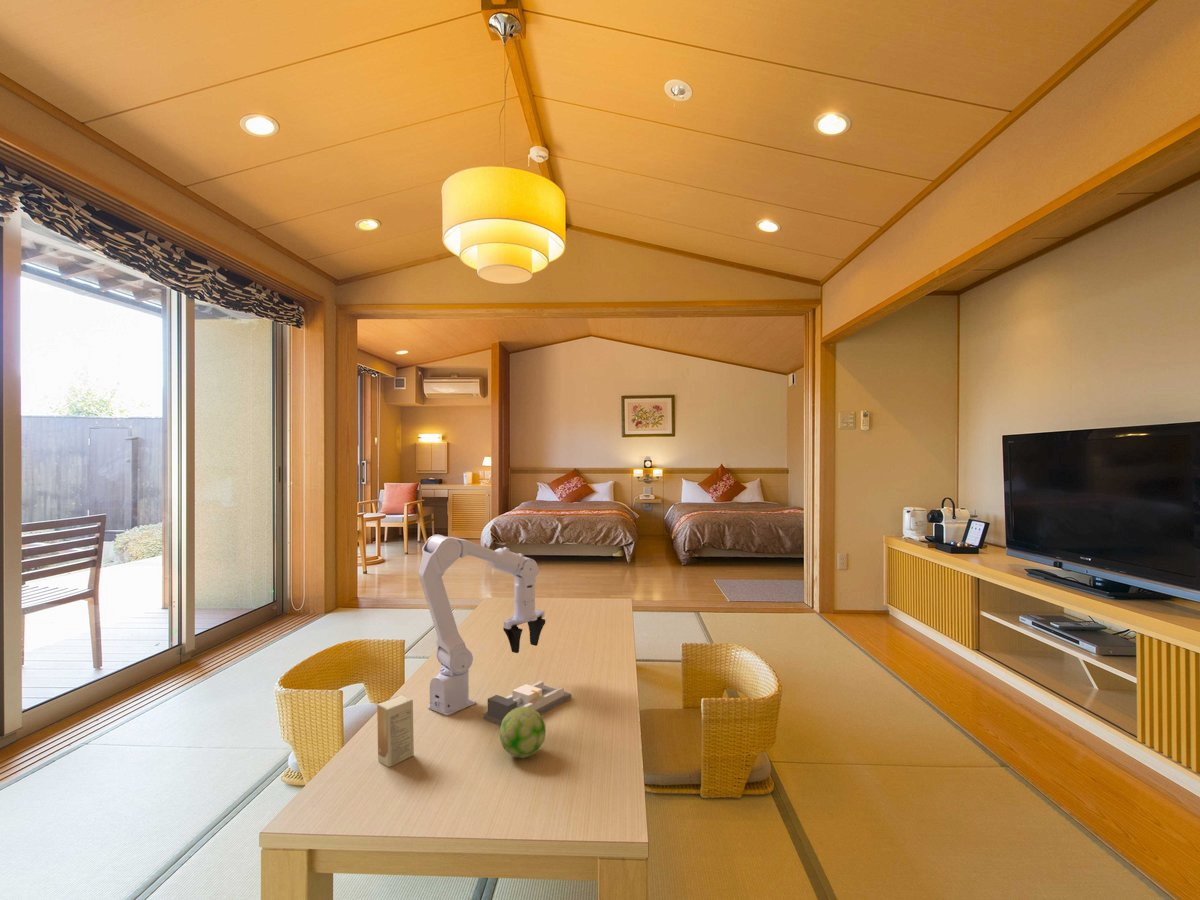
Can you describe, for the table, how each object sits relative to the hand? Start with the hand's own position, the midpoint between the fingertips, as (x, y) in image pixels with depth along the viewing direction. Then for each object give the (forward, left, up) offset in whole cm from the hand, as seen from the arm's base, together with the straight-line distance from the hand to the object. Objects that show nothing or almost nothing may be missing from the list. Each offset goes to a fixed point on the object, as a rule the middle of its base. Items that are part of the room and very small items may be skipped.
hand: (524, 648), depth 163 cm
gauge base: (-10, -11, -10) cm, 18 cm away
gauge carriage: (-12, -12, -9) cm, 19 cm away
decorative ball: (-28, -26, -11) cm, 40 cm away
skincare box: (-45, -5, -11) cm, 47 cm away
